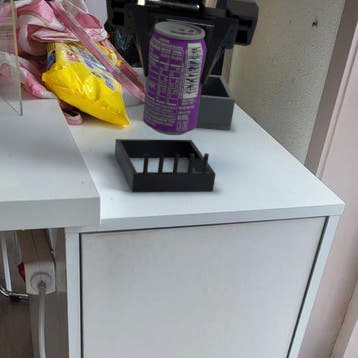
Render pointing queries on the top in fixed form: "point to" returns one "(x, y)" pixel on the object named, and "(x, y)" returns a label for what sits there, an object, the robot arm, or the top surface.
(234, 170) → the top surface
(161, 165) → the dish rack
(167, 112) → the beverage can
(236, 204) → the top surface
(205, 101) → the grey storage bin
